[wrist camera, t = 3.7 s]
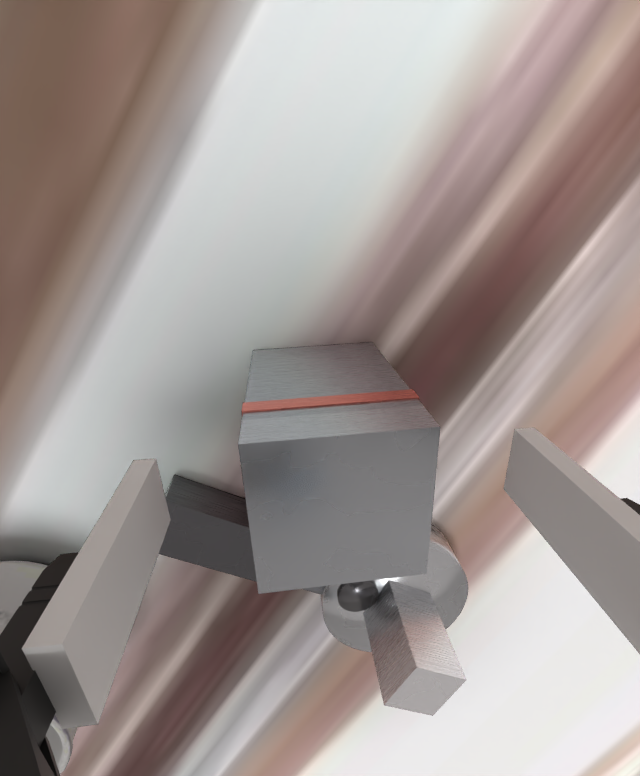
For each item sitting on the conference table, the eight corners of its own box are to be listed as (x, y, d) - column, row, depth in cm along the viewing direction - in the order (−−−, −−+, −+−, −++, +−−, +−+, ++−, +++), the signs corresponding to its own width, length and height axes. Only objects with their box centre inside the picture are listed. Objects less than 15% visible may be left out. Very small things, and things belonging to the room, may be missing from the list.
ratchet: (137, 554, 24) (82, 690, 17) (193, 434, 21) (154, 537, 14) (405, 629, 29) (446, 756, 22) (477, 540, 26) (549, 654, 19)
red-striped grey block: (263, 454, 22) (257, 594, 14) (251, 349, 20) (236, 443, 11) (371, 444, 23) (427, 574, 14) (373, 341, 20) (442, 425, 12)
